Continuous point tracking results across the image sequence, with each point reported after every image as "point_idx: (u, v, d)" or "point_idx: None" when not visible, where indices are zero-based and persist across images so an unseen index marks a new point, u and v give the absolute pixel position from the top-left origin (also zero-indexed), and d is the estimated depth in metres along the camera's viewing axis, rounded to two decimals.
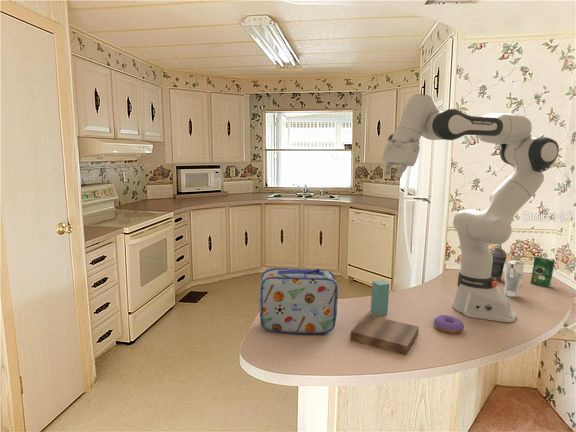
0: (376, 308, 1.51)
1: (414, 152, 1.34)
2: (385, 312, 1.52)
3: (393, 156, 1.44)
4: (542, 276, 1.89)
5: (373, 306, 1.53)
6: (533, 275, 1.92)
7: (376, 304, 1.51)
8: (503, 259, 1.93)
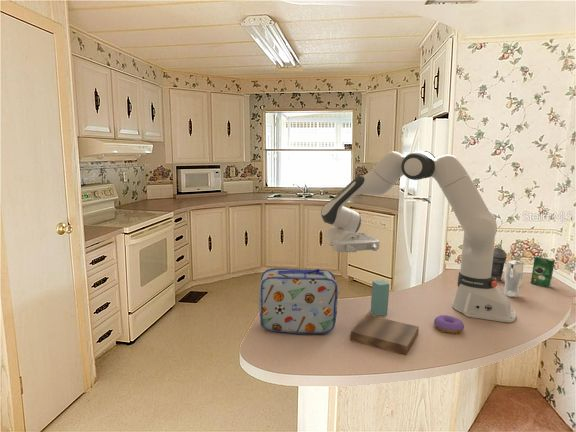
0: (376, 308, 1.51)
1: (333, 245, 1.66)
2: (385, 312, 1.52)
3: None
4: (542, 276, 1.89)
5: (373, 306, 1.52)
6: (533, 275, 1.92)
7: (376, 305, 1.51)
8: (503, 259, 1.93)
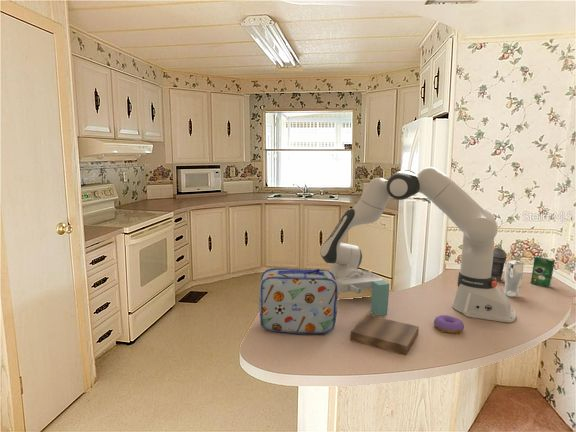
0: (376, 308, 1.51)
1: None
2: (385, 312, 1.52)
3: None
4: (542, 276, 1.89)
5: (373, 306, 1.52)
6: (533, 275, 1.92)
7: (376, 305, 1.51)
8: (503, 259, 1.93)
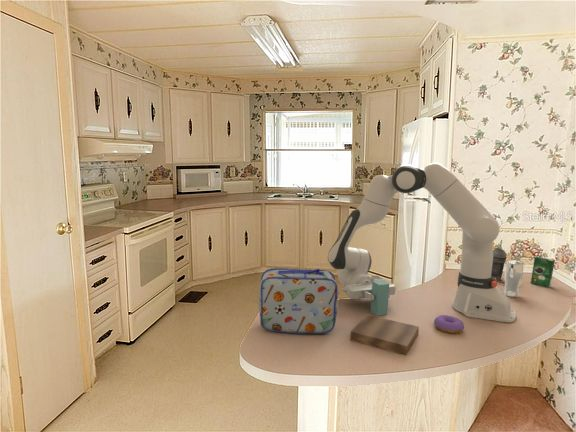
0: (376, 308, 1.51)
1: (346, 291, 1.57)
2: (385, 312, 1.52)
3: None
4: (542, 276, 1.89)
5: (373, 306, 1.52)
6: (533, 275, 1.92)
7: (376, 304, 1.51)
8: (503, 259, 1.93)
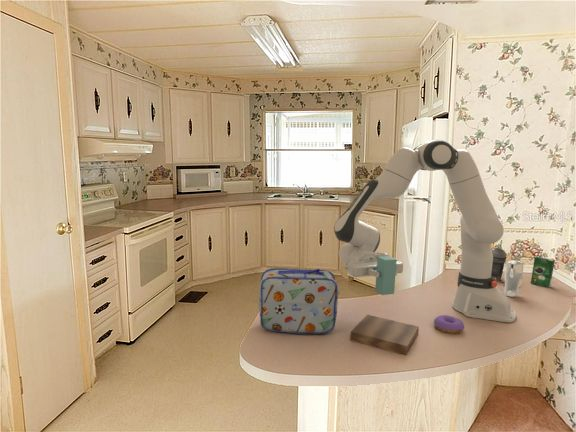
0: (381, 286, 1.35)
1: (348, 268, 1.41)
2: (392, 291, 1.35)
3: None
4: (542, 276, 1.89)
5: (379, 285, 1.36)
6: (533, 275, 1.92)
7: (382, 282, 1.34)
8: (503, 259, 1.93)
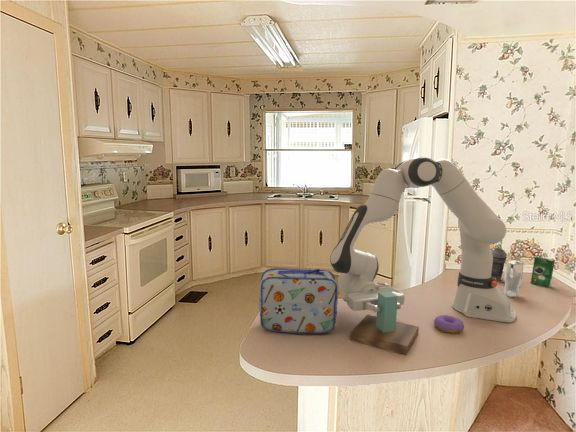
0: (382, 324, 1.30)
1: (348, 301, 1.36)
2: (393, 328, 1.31)
3: None
4: (542, 276, 1.89)
5: (379, 322, 1.32)
6: (533, 275, 1.92)
7: (383, 320, 1.30)
8: (503, 259, 1.93)
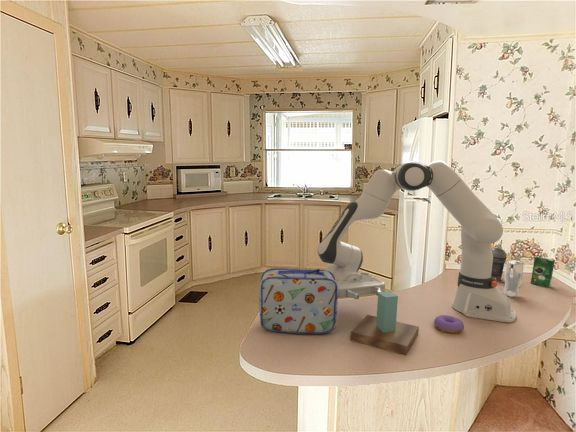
0: (382, 324, 1.30)
1: None
2: (393, 328, 1.31)
3: None
4: (542, 276, 1.89)
5: (379, 322, 1.32)
6: (533, 275, 1.92)
7: (383, 320, 1.30)
8: (503, 259, 1.93)
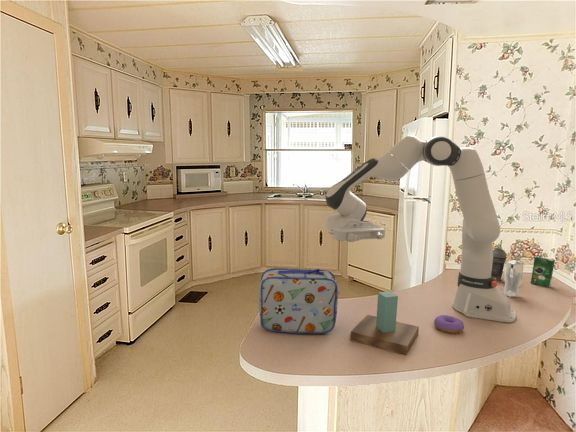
0: (382, 324, 1.30)
1: (333, 233, 1.50)
2: (393, 328, 1.31)
3: None
4: (542, 276, 1.89)
5: (379, 322, 1.32)
6: (533, 275, 1.92)
7: (383, 320, 1.30)
8: (503, 259, 1.93)
